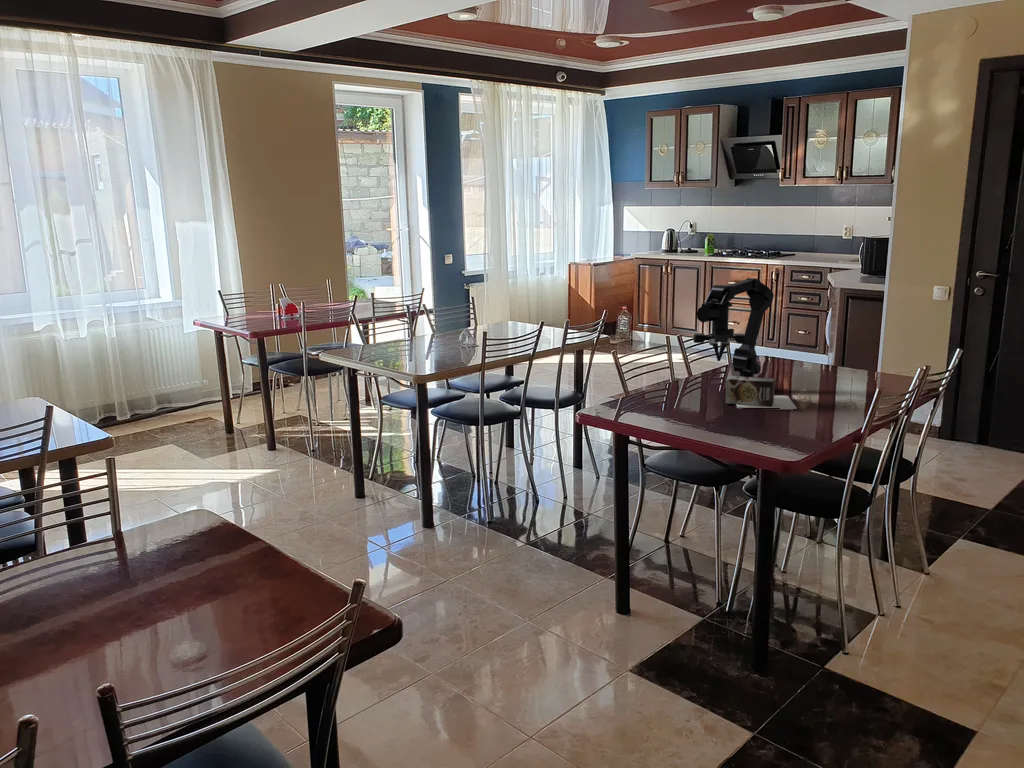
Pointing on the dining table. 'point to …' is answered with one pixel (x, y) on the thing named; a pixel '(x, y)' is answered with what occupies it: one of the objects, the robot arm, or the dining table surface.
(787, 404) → the mat
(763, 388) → the cookie box
